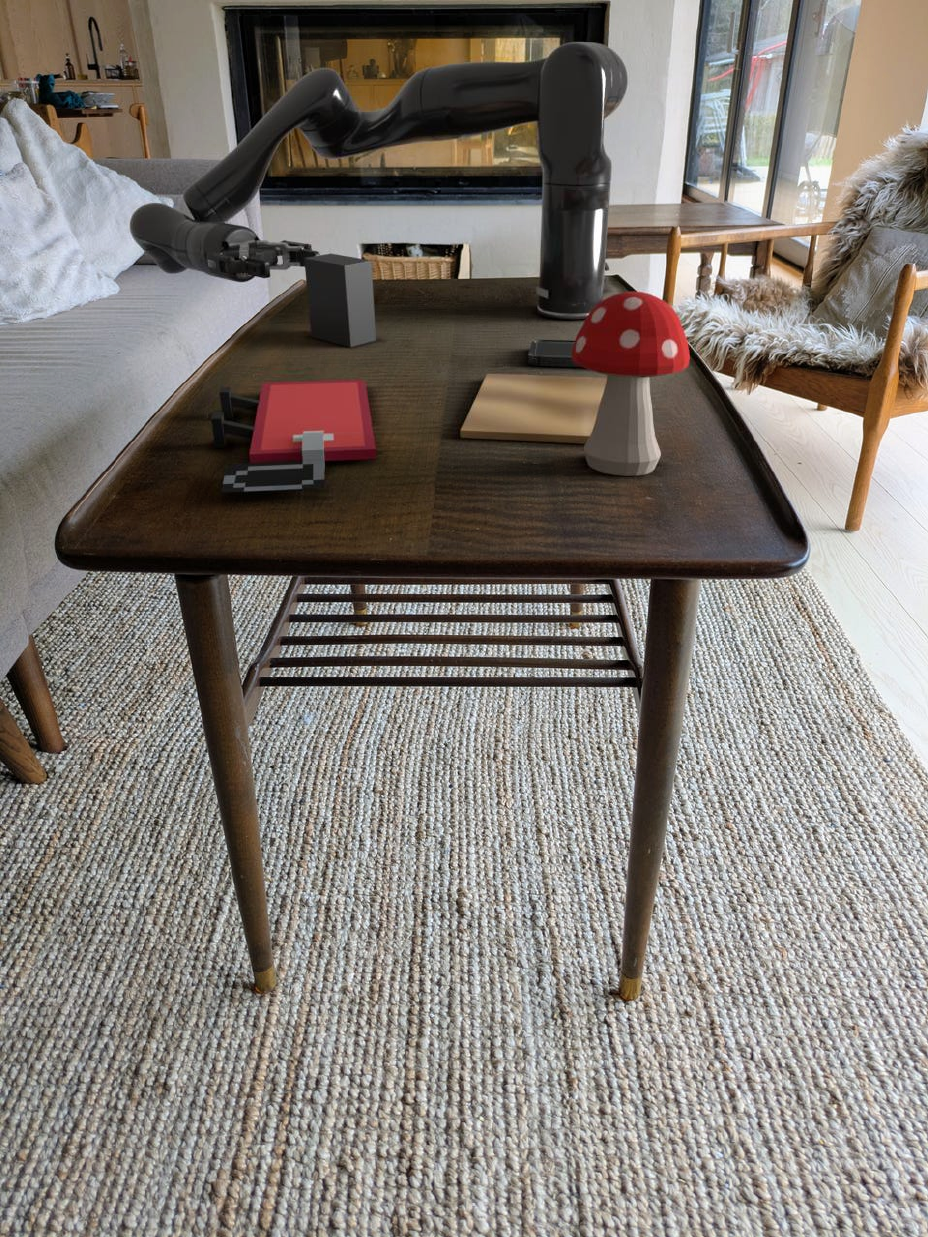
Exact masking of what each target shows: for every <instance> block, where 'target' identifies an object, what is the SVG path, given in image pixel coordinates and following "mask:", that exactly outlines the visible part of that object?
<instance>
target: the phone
mask: <svg viewBox="0 0 928 1237" xmlns="http://www.w3.org/2000/svg"><path fill="white" fill-rule="evenodd" d="M574 343H575V340H571V339H569V340H567V339H535V340H532V341H531V344H530V346H529V351H528V353H527V363H528V364H529V365H531V366H543V367H573V368H583V367H582V366H579V365H577V364H576V363H575V362H574V361H573V360H572V349H573V346H574Z"/></svg>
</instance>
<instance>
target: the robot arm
mask: <svg viewBox="0 0 928 1237" xmlns="http://www.w3.org/2000/svg"><path fill="white" fill-rule="evenodd" d="M624 63H625V62H624V61H623V59H622V58H621V56H619V55H618V53H616V52H615V51H614V50H613V49H612V48H610V47H609V46H607V45H605V44H603V43H599V42H589V41H585V42H584V41H573V42H572V41H571V42H566V43H564V44H561V45H559V46H558V47H556V48H554V49H553V50H552V51H551V52H550V53H549V55H548V56H547V57H544V58H539V59H535V60H529V61H468V62H456V63H448V64H443V65H437V66H431V67H426V68H422V69H419V70H418V71H417V72H415V73H413V75H411V76H410V78H408V79H407V81H406V82H405V83H404V84H403V86H401V88H400V89H399V90H398V92H397V94H396V95H395V96H394V98H393V99H392V100H391V101H390V103H389V104H388V105H387V106H385V107H383V108H379V109H376V110H368V111H367V110H362V109H360V108H359V106H358V104H357V103H356V101H355V99H354V98H353V96H352V94H351V93H350V91H349V88H348V86H346V84H345V83H344V81H343V79H342V77H341V76H340V74H339V73H338V72H337V71H336V70H334V68H331V67H320V68H316V69H313V70H311V71H310V72H308V73H307V74H305V75H303V76H302V77H300V78H299V80H298V81H296V82H295V83H294V84H293V85H292V86H291V87H289V89H288V90H287V91H286V92H284V93H283V95H282V96H281V97H280V99H278V100H277V102H275V104H274V105H273V106H272V107H271V108H270V109H269V110H268V111H267V112H266V113H265V114H264V115H263V117H261V118H260V120H259V121H258V122H257V123H256V124H255V126H254V127H253V128H252V129H251V130H250V131H249V132H248V133H247V134H246V136H245V137H244V138H243V139H242V140H241V141H240V142H239V143H238V144H237V145H236V146H235V147H234V148H233V149H232V150H231V151H230V152H229V153H228V154H227V155H226V156H225V157H224V158H222V160H220V161H219V162H218V163H217V164H215V165H214V166H212V168H210V169H208V171H206V172H205V173H204V174H202V175H201V176H200V177H199V178H197V179H196V180H195V181H194V182H192V183H191V184H190V185H189V186H187V188H185V190H184V191H183V192H182V201H183V203H184V205H185V207H186V209H187V211H188V213H189V214H190V216H191V217H190V216H188V215H187V214H185V213H183V212H181V211H180V210H178V209H176V208H174V207H173V206H170V205H168V204H164V203H161V202H149V203H146V204H143V205H140V206H139V207H138V208H137V209H135V211H134V212H133V213H132V214H131V218H130V220H129V232H130V235H131V237H132V238H133V240H134V241H135V243H136V244H137V245H138V246H139V247H140V248H141V249H142V250H143V251H144V252H145V254H146V255H147V256H148V257H149V258H150V259H151V260H152V261H153V262H154V264H156V266H157V267H158V268H159V269H160V270H162V271H163V272H164V273H166V274H171V275H175V274H180V273H182V272H185V271H186V270H188V269H189V270H191V271H196V272H201V273H204V274H206V275H208V276H211V277H214V278H218V279H222V280H223V279H224V280H228V281H232V282H237V283H246V282H249V281H251V280H253V279H254V278H256V277H257V278H260V279H268V278H270V277H271V270H274V271H275V270H277V271H278V270H279V271H281V270H282V271H284V270H285V271H286V270H288V269H290V268H291V267H300V268H302V267H304V268H305V262H304V258H308V257H314V256H320V255H321V254H320V252H319V251H318V250H313V248H312V247H313V246H312V244H310V243H304V242H298V241H291V240H287V239H286V240H285V239H283V240H282V241H280V242H277V241H275V242H273V241H272V242H271V241H269V240H266V239H265V240H263V239H260V238H259V236H258V234H256V232H255V231H253V229H251V228H249V227H247V226H244V225H238V224H232V223H228V222H229V221H230V220H231V219H233V218H234V217H235V216H236V215H238V214H239V213H240V212H241V211H243V210H244V209H245V208H246V207H248V206H249V205H250V204H251V202H252V201H253V200H254V198H255V197H256V196H257V193H258V192H259V190H260V188H261V186H262V184H263V181H264V179H265V176H266V174H267V171H268V168H269V166H270V163H271V160H272V159H273V157H274V155H275V152H276V151H277V149H278V147H279V145H281V143H282V141H283V140H284V139H285V138H286V137H287V136H288V135H289V134H290V133H291V132H292V131H294V130H295V129H296V128H298V129H299V130H300V132H301V133H302V135H303V137H304V139H306V141H307V142H308V144H309V146H310V148H311V149H312V150H313V151H314V152H315V153H316V154H317V155H318V156H319V157H320V158H323V159H327V160H340V159H346V158H351V157H354V156H358V155H362V154H366V153H370V152H374V151H378V150H382V149H387V148H393V147H398V146H399V147H400V146H405V145H406V146H407V145H413V144H420V143H430V142H433V143H434V142H445V141H446V142H447V141H453V140H462V139H467V138H473V137H478V136H482V135H487V134H491V133H495V132H500V131H503V130H508V129H511V128H514V127H518V126H521V125H526V124H532V123H537V154H538V155H537V156H538V160H539V163H540V166H541V170H542V171H541V172H542V180H541V181H542V184H541V185H542V186H541V223H540V248H539V251H540V252H539V280H538V283H539V284H538V286H536V295H538V305H537V313H538V314H539V315H541V316H543V317H546V318H551V319H558V320H586V318H587V316H588V314H589V313H590V312H591V310H592V309H593V308H594V307H595V306H596V305H597V304H599V303H600V302H602V301H603V300H604V291H605V289H606V288H607V286H608V284H609V283H608V280H607V279H606V277H605V273H606V272H605V271H610V267H609V264H608V263H607V260H606V259H607V247H608V246H607V245H608V244H607V243H608V231H609V230H608V227H609V216H610V214H609V213H610V198H611V184H612V183H611V181H612V170H613V169H612V167H613V166H612V160H611V158H610V157H609V156H608V154H607V152H606V148H605V144H604V133H605V132H604V130H605V128H604V127H605V126H604V125H605V119H606V118H608V117H609V116H610V115H612V114H613V113H614V112H615V111H616V110H617V109H618V107H620V105H621V103H622V101H623V100H624V98H625V95H626V93H627V89H628V82H629V80H628V78H629V77H628V71H627V67H626V64H624ZM279 257H281V258H282V259H281V260H282V263H281V264H280V263H279Z"/></svg>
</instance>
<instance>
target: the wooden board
mask: <svg viewBox="0 0 928 1237" xmlns="http://www.w3.org/2000/svg"><path fill="white" fill-rule="evenodd" d="M606 381H607V377H592V376H591V377H590V376H561V375H538V374H537V375H535V374H506V373H486V375H485V377H484V380H482V384H481V386H480V387H479V389H478V392H477V394H476V396H475V399H474V400H473V402H472V405H471V407H470V409H469V412H468V414H467V415H466V418H465V419H464V422H463V424H462V426H461V428H460V429H459V430H460V431H459V432H460V438H461V439H478V440H498V441H500V440H501V441H519V442H521V441H522V442H541V443H544V442H545V443H561V444H562V443H563V444H584V445H585V444H586V442H587V440H588V438H589V437H590V435H591V433H592V430H593V427H594V424H595V421H596V417H597V413H598V409H599V405H600V402H601V399H602V396H603V393H604V389H605V385H606Z"/></svg>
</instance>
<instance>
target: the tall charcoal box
mask: <svg viewBox="0 0 928 1237" xmlns="http://www.w3.org/2000/svg"><path fill="white" fill-rule="evenodd" d="M304 262H305V267H304V272H305V283H306V292H307V293H306V294H307V302H308V303H307V305H308V314H309V323H310V334H311V338H314V339H318V340H322V341H326V342H329V343H333V344H337V345H340V346H344V347H347V348H353V347H357V346H360V345H361V346H362V345H365V344H368V343H373V342H376V341H377V332H376V330H377V328H376V314H375V313H376V312H375V298H374V296H375V295H374V280H373V261H372V260H370V259H365V258H359V257H353V256H347V255H342V254H336V253H326V254H320V256H314V257H308V258H304Z"/></svg>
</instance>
